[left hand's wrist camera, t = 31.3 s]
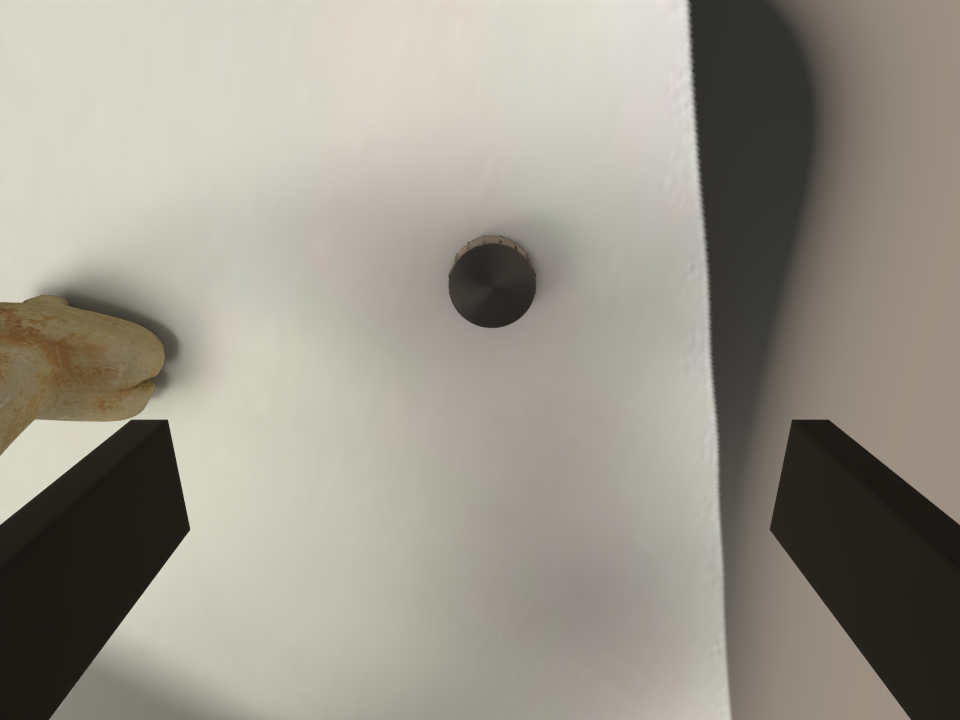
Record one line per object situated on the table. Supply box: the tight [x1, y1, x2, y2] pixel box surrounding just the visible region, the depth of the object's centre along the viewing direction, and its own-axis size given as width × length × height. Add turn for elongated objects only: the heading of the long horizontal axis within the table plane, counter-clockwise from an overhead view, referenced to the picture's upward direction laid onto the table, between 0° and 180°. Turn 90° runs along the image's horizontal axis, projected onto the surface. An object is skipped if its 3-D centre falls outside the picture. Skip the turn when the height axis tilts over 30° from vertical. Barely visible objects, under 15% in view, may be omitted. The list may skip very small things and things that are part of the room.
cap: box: [448, 236, 536, 328], centre depth 27 cm, size 4×4×2 cm
